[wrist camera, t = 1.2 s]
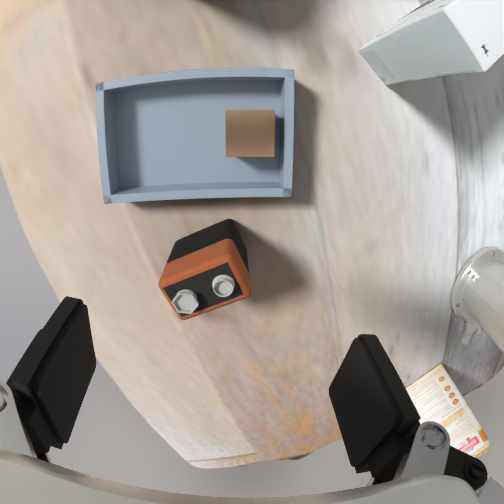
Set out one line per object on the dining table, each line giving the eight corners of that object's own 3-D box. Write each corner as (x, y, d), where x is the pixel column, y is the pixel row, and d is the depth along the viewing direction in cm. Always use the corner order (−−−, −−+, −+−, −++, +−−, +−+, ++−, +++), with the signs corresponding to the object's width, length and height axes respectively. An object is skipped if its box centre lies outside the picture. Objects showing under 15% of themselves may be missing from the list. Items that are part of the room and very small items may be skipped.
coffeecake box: (385, 418, 51) (415, 495, 33) (373, 406, 48) (406, 493, 30) (447, 377, 47) (490, 449, 30) (440, 361, 45) (489, 441, 27)
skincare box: (451, -19, 19) (533, -46, 5) (475, 14, 21) (562, 1, 6) (352, 47, 24) (444, 7, 10) (384, 87, 26) (491, 82, 12)
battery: (173, 240, 32) (152, 290, 23) (231, 215, 31) (230, 258, 22) (192, 273, 34) (179, 329, 25) (247, 251, 33) (253, 303, 24)
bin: (285, 188, 31) (291, 197, 27) (116, 194, 30) (104, 203, 26) (287, 74, 26) (294, 69, 22) (109, 86, 25) (95, 83, 22)
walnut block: (268, 151, 28) (274, 156, 25) (227, 151, 28) (225, 157, 24) (269, 111, 27) (274, 109, 23) (226, 111, 26) (225, 109, 23)
